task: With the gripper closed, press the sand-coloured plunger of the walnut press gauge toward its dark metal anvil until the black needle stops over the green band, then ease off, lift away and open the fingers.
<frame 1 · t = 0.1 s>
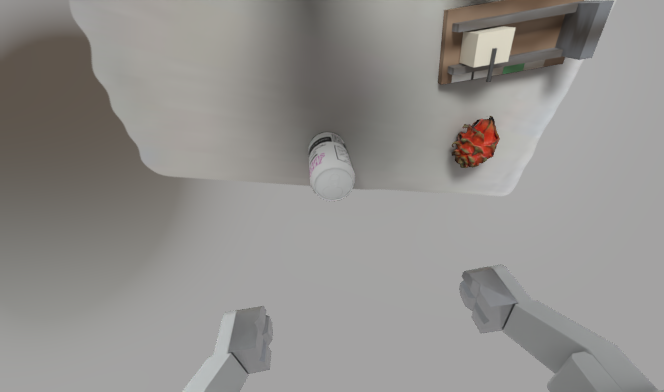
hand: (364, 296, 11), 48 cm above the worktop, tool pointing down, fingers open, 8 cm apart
supplement can: (326, 148, 59), on the worktop
dragon fruit: (466, 136, 61), on the worktop
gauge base: (504, 38, 50), on the worktop
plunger: (484, 55, 47), point 4 cm above the worktop, slide at 0.0 cm
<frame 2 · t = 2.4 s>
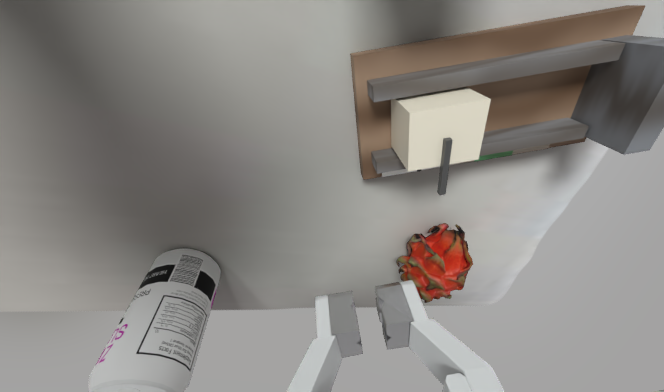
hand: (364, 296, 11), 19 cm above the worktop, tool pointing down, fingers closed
supplement can: (190, 265, 36), on the worktop
dragon fruit: (423, 240, 38), on the worktop
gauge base: (476, 100, 26), on the worktop
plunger: (433, 141, 24), point 4 cm above the worktop, slide at 0.0 cm
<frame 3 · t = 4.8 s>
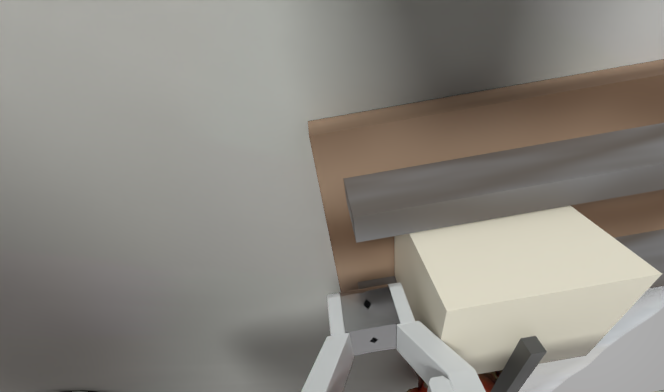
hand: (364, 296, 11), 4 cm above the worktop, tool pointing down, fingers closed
dragon fruit: (440, 357, 26), on the worktop
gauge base: (552, 191, 14), on the worktop
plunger: (482, 299, 11), point 4 cm above the worktop, slide at 0.0 cm, touching gripper
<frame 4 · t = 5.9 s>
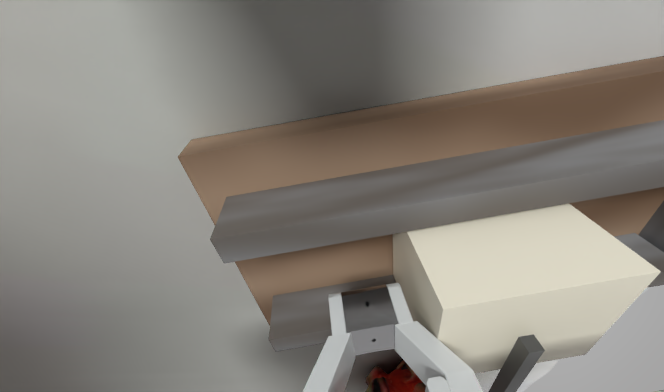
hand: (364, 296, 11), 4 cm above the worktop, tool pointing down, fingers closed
dragon fruit: (392, 365, 26), on the worktop
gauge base: (465, 204, 14), on the worktop
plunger: (480, 298, 11), point 4 cm above the worktop, slide at 4.6 cm, touching gripper
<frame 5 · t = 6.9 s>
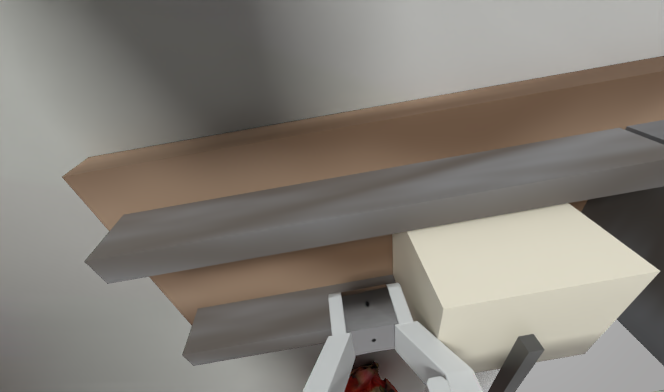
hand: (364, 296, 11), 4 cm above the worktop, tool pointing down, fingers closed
dragon fruit: (349, 372, 26), on the worktop
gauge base: (387, 217, 14), on the worktop
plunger: (480, 297, 11), point 4 cm above the worktop, slide at 8.8 cm, touching gripper
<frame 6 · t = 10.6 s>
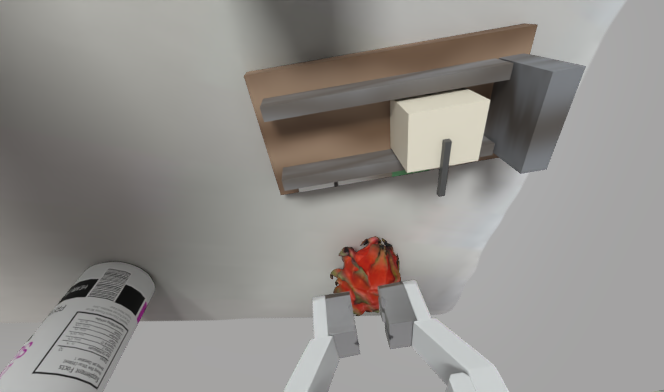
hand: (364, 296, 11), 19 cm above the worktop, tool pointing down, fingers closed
supplement can: (124, 278, 36), on the worktop
dragon fruit: (361, 252, 38), on the worktop
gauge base: (387, 116, 26), on the worktop
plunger: (432, 142, 23), point 4 cm above the worktop, slide at 8.8 cm
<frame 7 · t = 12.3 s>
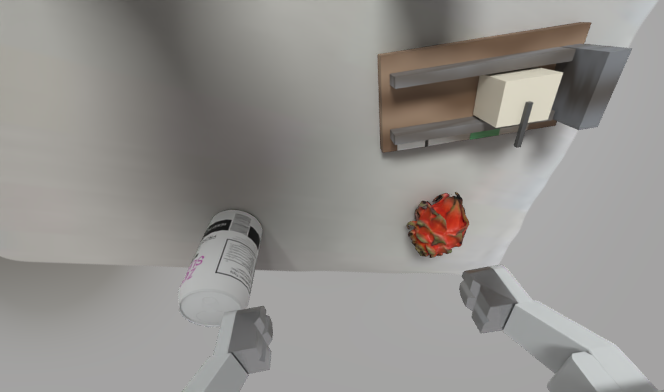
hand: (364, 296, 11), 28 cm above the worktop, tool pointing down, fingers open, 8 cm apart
supplement can: (237, 226, 44), on the worktop
dragon fruit: (428, 210, 46), on the worktop
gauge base: (470, 91, 35), on the worktop
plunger: (511, 108, 32), point 4 cm above the worktop, slide at 8.8 cm
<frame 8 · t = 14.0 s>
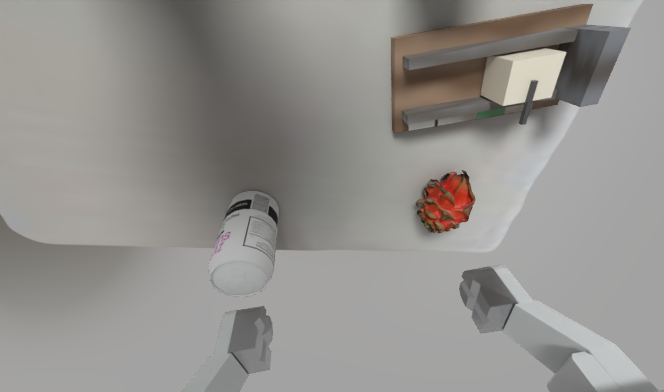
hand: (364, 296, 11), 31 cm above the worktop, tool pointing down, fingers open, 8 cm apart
supplement can: (255, 207, 46), on the worktop
dragon fruit: (436, 189, 48), on the worktop
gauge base: (477, 72, 37), on the worktop
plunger: (517, 87, 34), point 4 cm above the worktop, slide at 8.8 cm
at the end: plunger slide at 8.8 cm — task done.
